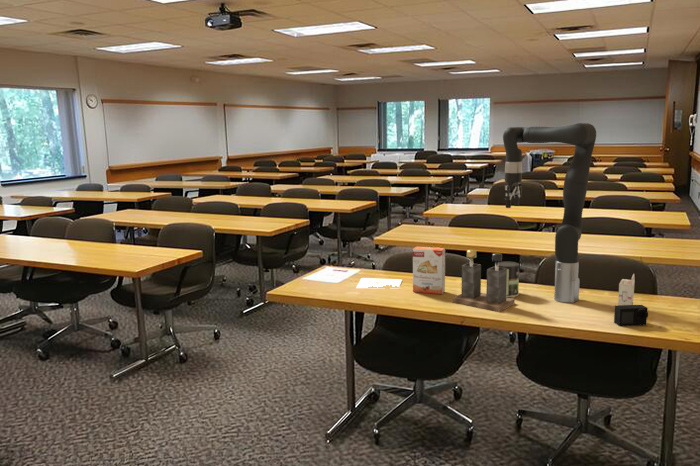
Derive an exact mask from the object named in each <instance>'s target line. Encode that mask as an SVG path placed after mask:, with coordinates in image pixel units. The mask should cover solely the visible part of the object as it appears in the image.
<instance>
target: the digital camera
mask: <svg viewBox="0 0 700 466" xmlns="http://www.w3.org/2000/svg"><path fill="white" fill-rule="evenodd" d="M613 317H614V318H613V323H614V324H616V325H617V326H618V327H635V326H637V327H638V326H640V327H641V326H647V321H648V320H647V319H648V318H649V312H648V307H647V306H645V305H643V304H633V305H618V304H617V305H614V316H613Z"/></svg>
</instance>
